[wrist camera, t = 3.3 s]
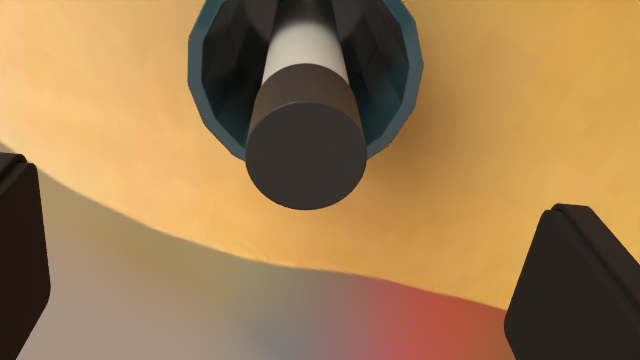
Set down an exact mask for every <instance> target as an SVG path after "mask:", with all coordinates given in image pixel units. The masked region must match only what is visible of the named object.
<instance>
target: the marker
mask: <svg viewBox="0 0 640 360" xmlns="http://www.w3.org/2000/svg"><path fill="white" fill-rule="evenodd" d="M245 162H246V167H247V171H248V174H249V176H250V178H251V180H252V181H253V183H254V185H255V186H256V187H257V188H258V189H259V191H260V192H261V193H262V194H264V195H265V196H266V197H267V198H269V199H270V200H271V201H273V202H275V203H277V204H279V205H282V206H284V207H287V208H291V209H297V210H315V209H321V208H324V207H328V206H330V205H333V204H335V203H337V202H339V201H340V200H342V199H343V198H345V197H346V196H347V195H348V194H349V193H351V192H352V191H353V190H354V188H355V187H356V186H357V184H358V183H359V181H360V180H361V178H362V176H363V173H364V171H365V167H366V162H367V147H366V142H365V138H364V133H363V129H362V124H361V120H360V116H359V111H358V107H357V102H356V99H355V96H354V93H353V91H352V89H351V87H350V86H349V81H348V77H347V72H346V67H345V62H344V58H343V53H342V48H341V43H340V39H339V34H338V29H337V25H336V20H335V15H334V12H333V10H332V8H331V6H330V5H329V3H328V2H327V1H326V0H283V1H282V2H281V4H280V5H279V7H278V8H277V10H276V13H275V17H274V22H273V27H272V33H271V38H270V43H269V48H268V54H267V59H266V64H265V69H264V75H263V80H262V85H261V88H260V89H259V91H258V94H257V96H256V99H255V103H254V108H253V113H252V117H251V122H250V127H249V132H248V137H247V142H246V148H245Z"/></svg>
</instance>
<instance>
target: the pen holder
mask: <svg viewBox="0 0 640 360" xmlns="http://www.w3.org/2000/svg"><path fill="white" fill-rule="evenodd" d="M282 1H283V0H206V1H205V3H204V5H203V7H202V9H201V11H200V13H199V16H198V18H197V20H196V22H195V24H194V26H193V29H192V31H191V33H190V35H189V39H188V76H187V82H188V86H189V89H190V91H191V94H192V96H193V99H194V101H195V104H196V106H197V109H198V111H199V114H200V116H201V119H202V121H203V123H204V124H205V126H206V127H207V128H208V130H209V131H210V132H211V133H212V134H213V135H214V136H215V137H216V138H217V139H218V140H219V141H220V142H221V143H222V144H223V145H224V146H225V147H226V148H227V149H228V150H229V152H230V153H231V154H232V155H234V156H235V157H237V158H239V159H241V160H243V161H245V148H246V142H247V137H248V132H249V127H250V122H251V117H252V113H253V108H254V103H255V99H256V96H257V94H258V91H259V89H260V88H261V85H262V80H263V75H264V69H265V64H266V59H267V54H268V48H269V43H270V38H271V33H272V27H273V22H274V17H275V13H276V10H277V8H278V7H279V5H280V4H281V2H282ZM326 1H327V2H328V3H329V5H330V6H331V8H332V10H333V12H334V15H335V20H336V25H337V29H338V34H339V39H340V43H341V48H342V53H343V58H344V62H345V67H346V72H347V77H348V81H349V86H350V87H351V89H352V91H353V93H354V96H355V99H356V102H357V107H358V111H359V116H360V120H361V124H362V129H363V133H364V138H365V142H366V147H367V160H368V159H369V158H371V157H372V156H374V155H375V154H377V153H378V152H380V151H381V150H382V149H384V148H385V147H387V146H388V145H389V144H390V143H391V142H392V141H393V139H394V138H395V136H396V135H397V133H398V132H399V131H400V129H401V128H402V126H403V125H404V123H405V122H406V120H407V119H408V117H409V116H410V114H411V113H412V111H413V110H414V107H415V104H416V99H417V95H418V90H419V85H420V81H421V76H422V71H423V58H422V53H421V48H420V43H419V38H418V33H417V28H416V22H415V21H414V18H413V16H412V15H411V13H410V12H409V11H408V9H407V8H406V6H405V5H404V3H403V2H402V0H326Z"/></svg>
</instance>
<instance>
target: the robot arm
mask: <svg viewBox="0 0 640 360" xmlns="http://www.w3.org/2000/svg"><path fill="white" fill-rule="evenodd" d="M50 288H51V286H50V275H49V266H48V258H47V249H46V241H45V232H44V224H43V215H42V206H41V198H40V190H39V180H38V172H37V168H36V166H35V165H34V164H33V163H27V160H26V158H25V157H24V156H23V155H22V154H13V153H1V152H0V360H16V358H17V356H18V355H19V353H20V351H21V349H22V347H23V346H24V344H25V342H26V341H27V339H28V337H29V335H30V333H31V332H32V330H33V328H34V326H35V325H36V322H37V321H38V319H39V318H40V316H41V314H42V312H43V310H44V309H45V307H46V305H47V303H48V300H49V296H50ZM504 331H505V335H506V338H507V340H508V343H509V345H510V347H511V349H512V352H513V354H514V356H515V358H516V360H640V265H639V263H638V262H637V261H636V260H635V259H634V258H633V256H632V255H631V254H630V253H629V252H628V251H627V250H626V248H625V247H624V246H623V245H622V244H621V243H620V241H619V240H618V239H617V238H616V237H615V236H614V234H613V233H612V232H611V231H610V230H609V229H608V228H607V226H606V225H605V224H604V223H603V222H602V221H601V219H600V218H599V217H598V216H597V215H596V214H595V213H594V211H593V210H592V209H591V208H590V207H588V206H581V205H570V204H559V203H557V204H555V205H554V206H553V207H552V208H551V210H546V211H544V212H543V213H542V215H541V218H540V220H539V223H538V226H537V229H536V232H535V234H534V237H533V240H532V243H531V246H530V248H529V251H528V254H527V257H526V260H525V263H524V265H523V268H522V271H521V274H520V277H519V279H518V282H517V285H516V288H515V291H514V294H513V296H512V299H511V302H510V305H509V308H508V310H507V313H506V316H505V321H504Z"/></svg>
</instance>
